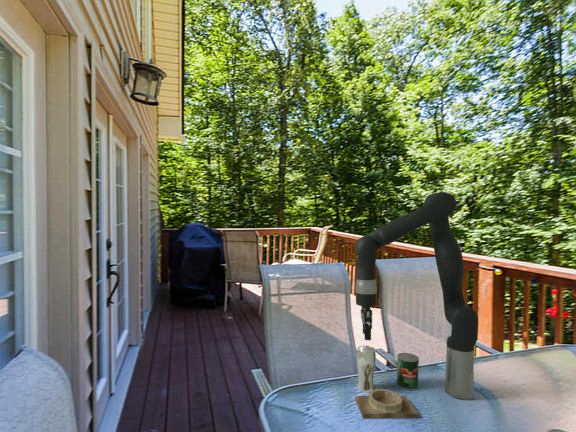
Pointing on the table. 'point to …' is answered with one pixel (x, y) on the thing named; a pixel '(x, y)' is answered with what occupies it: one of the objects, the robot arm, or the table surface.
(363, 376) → the beer glass
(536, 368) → the table surface
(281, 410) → the table surface
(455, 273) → the robot arm
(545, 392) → the table surface
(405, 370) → the canned tomato
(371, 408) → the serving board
